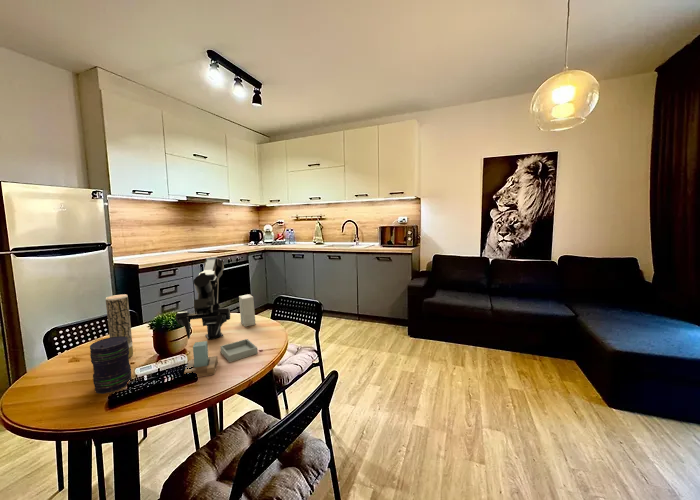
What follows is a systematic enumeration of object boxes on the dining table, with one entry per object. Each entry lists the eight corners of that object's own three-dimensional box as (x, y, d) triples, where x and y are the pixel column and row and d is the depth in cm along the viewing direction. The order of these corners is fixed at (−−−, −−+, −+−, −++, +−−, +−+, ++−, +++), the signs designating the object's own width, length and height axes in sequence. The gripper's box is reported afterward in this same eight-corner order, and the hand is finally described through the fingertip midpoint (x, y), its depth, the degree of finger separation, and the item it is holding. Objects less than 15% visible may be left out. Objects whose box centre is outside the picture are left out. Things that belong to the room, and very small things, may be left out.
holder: (190, 365, 109) (190, 359, 109) (217, 361, 112) (217, 355, 111) (184, 379, 100) (183, 372, 100) (214, 374, 103) (213, 367, 102)
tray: (220, 352, 120) (220, 346, 120) (247, 344, 127) (247, 338, 127) (229, 362, 111) (228, 355, 111) (257, 353, 118) (257, 347, 118)
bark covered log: (135, 356, 117) (129, 296, 114) (113, 363, 112) (106, 300, 109) (131, 351, 121) (125, 293, 119) (110, 357, 116) (104, 296, 114)
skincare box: (255, 324, 151) (254, 296, 149) (243, 327, 147) (242, 298, 146) (251, 320, 158) (250, 293, 156) (239, 322, 154) (238, 295, 153)
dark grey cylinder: (112, 376, 102) (107, 336, 100) (139, 376, 102) (135, 336, 100) (85, 393, 92) (80, 348, 91) (115, 394, 92) (110, 349, 90)
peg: (197, 368, 107) (195, 342, 106) (208, 366, 108) (207, 340, 107) (194, 373, 103) (192, 347, 102) (207, 371, 105) (205, 345, 103)
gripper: (174, 291, 109) (168, 330, 100) (227, 287, 115) (226, 324, 105) (181, 306, 118) (176, 343, 108) (230, 301, 123) (229, 336, 114)
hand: (202, 336), depth 109 cm, fingers open, 9 cm apart
